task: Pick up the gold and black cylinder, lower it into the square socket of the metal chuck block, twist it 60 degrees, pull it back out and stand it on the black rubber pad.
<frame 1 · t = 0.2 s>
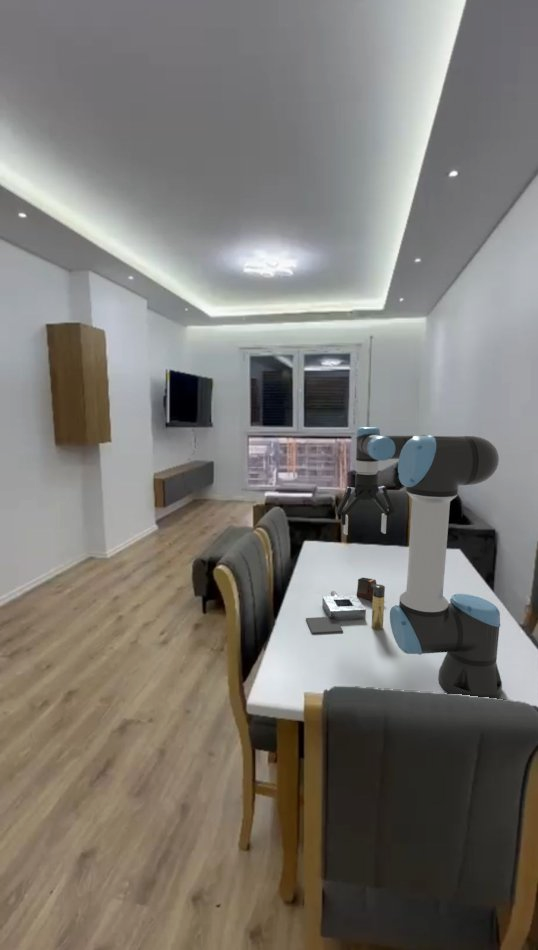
hand: (364, 533, 165), 27 cm above the table, fingers open, 13 cm apart
electronic device: (370, 599, 176), on the table
chuck block: (343, 612, 165), on the table
gold and black cylinder: (377, 627, 154), on the table
pad: (323, 625, 155), on the table
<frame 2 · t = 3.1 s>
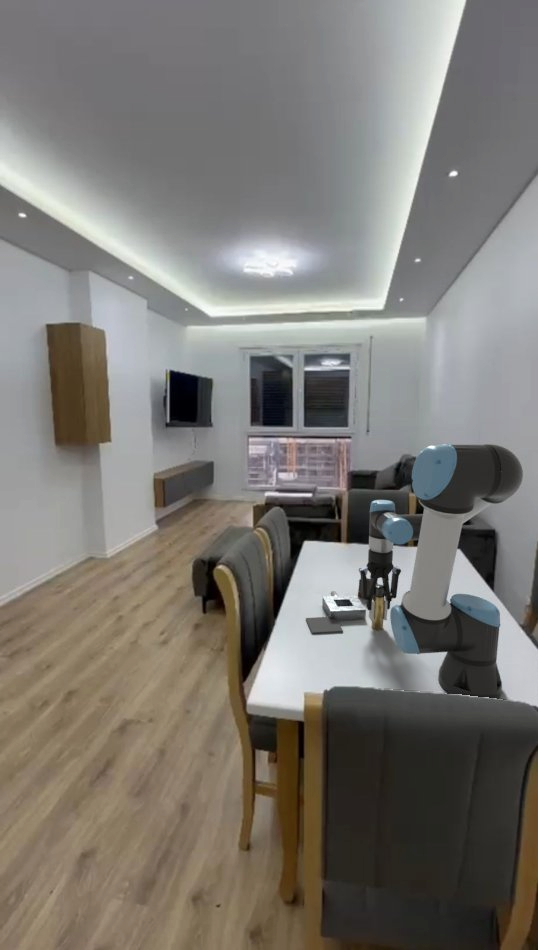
hand: (377, 618, 153), 3 cm above the table, fingers closed on gold and black cylinder, 4 cm apart
gold and black cylinder: (377, 627, 154), on the table, touching gripper
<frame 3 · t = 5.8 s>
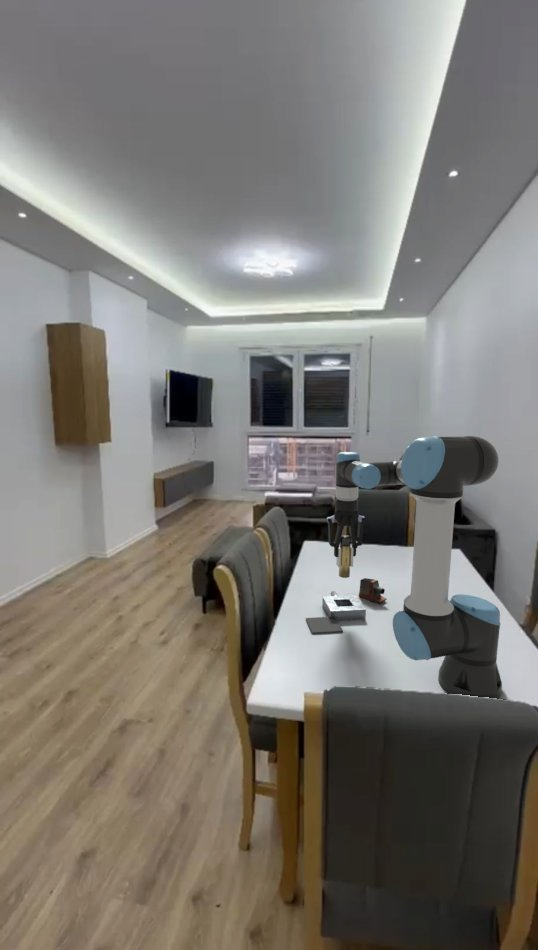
hand: (344, 565, 162), 17 cm above the table, fingers closed on gold and black cylinder, 4 cm apart
gold and black cylinder: (344, 575, 163), point 13 cm above the table, touching gripper
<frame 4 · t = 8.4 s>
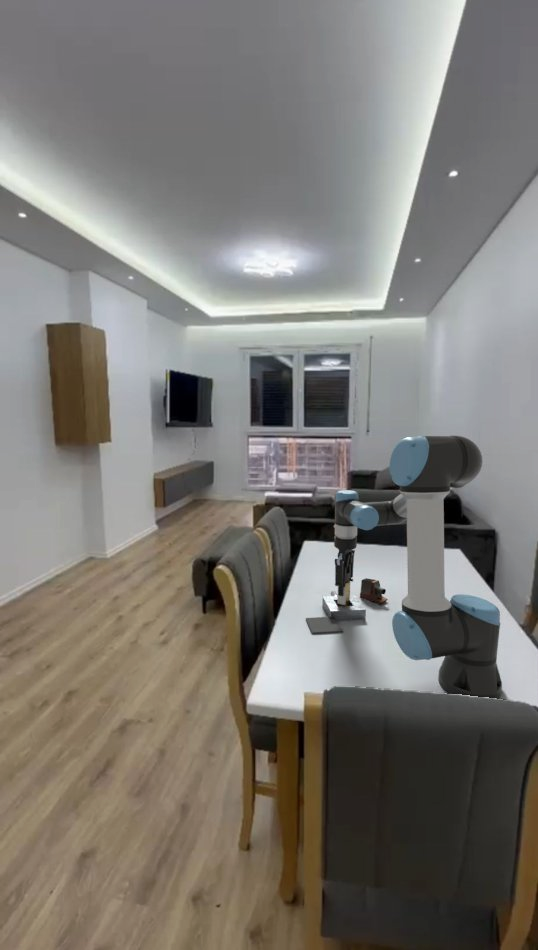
hand: (343, 601, 164), 4 cm above the table, fingers closed on gold and black cylinder, 4 cm apart
gold and black cylinder: (343, 611, 165), resting in chuck block, touching gripper
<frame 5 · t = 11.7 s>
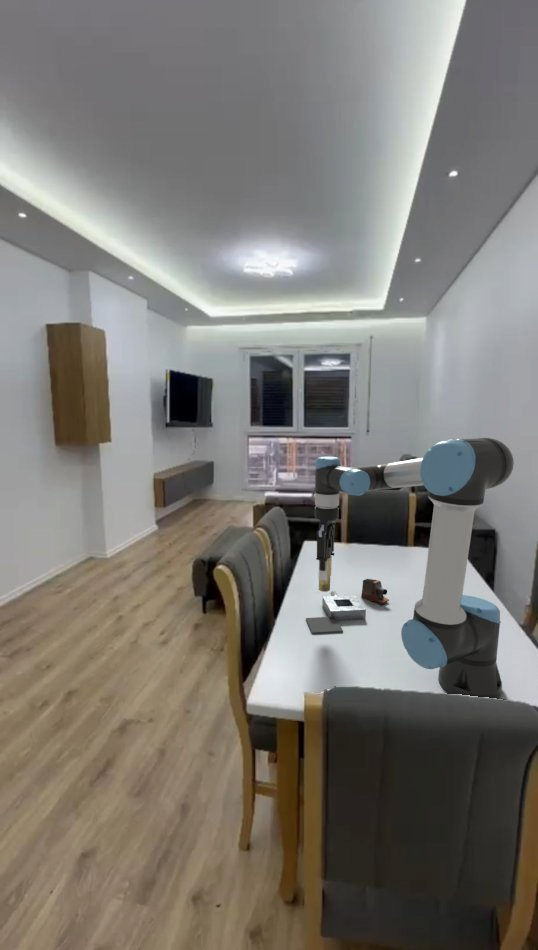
hand: (324, 577, 152), 17 cm above the table, fingers closed on gold and black cylinder, 4 cm apart
gold and black cylinder: (324, 589, 153), point 13 cm above the table, touching gripper
when the fingers open (5 cm above the table, at t = 13.9 s): gold and black cylinder stays where it is, resting on pad.
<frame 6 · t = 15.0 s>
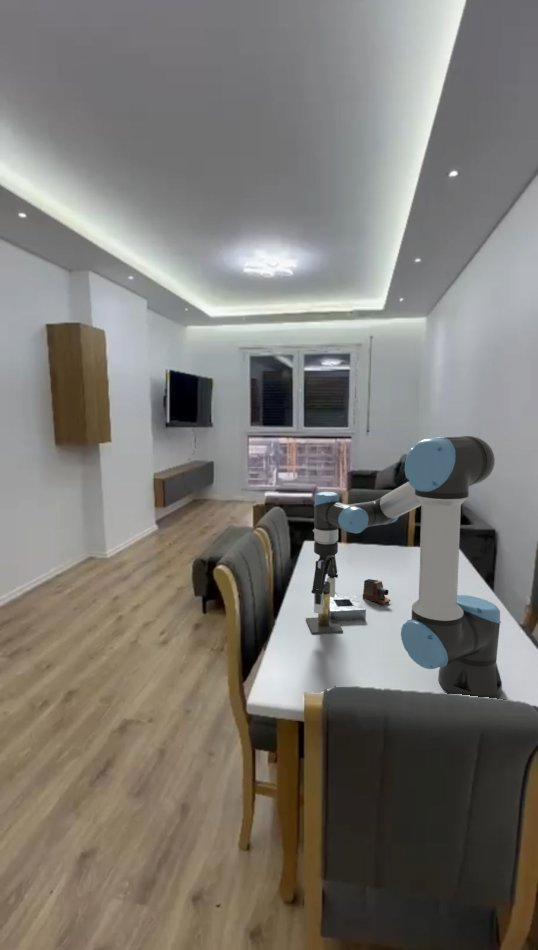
hand: (324, 604, 153), 7 cm above the table, fingers open, 13 cm apart
gold and black cylinder: (323, 624, 155), point 1 cm above the table, touching pad
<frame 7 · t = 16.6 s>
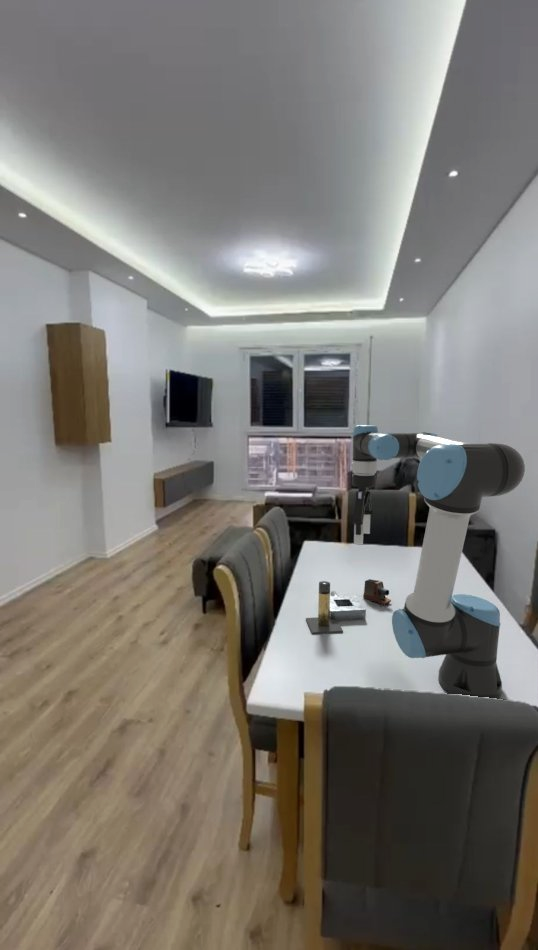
hand: (362, 538, 154), 28 cm above the table, fingers open, 13 cm apart
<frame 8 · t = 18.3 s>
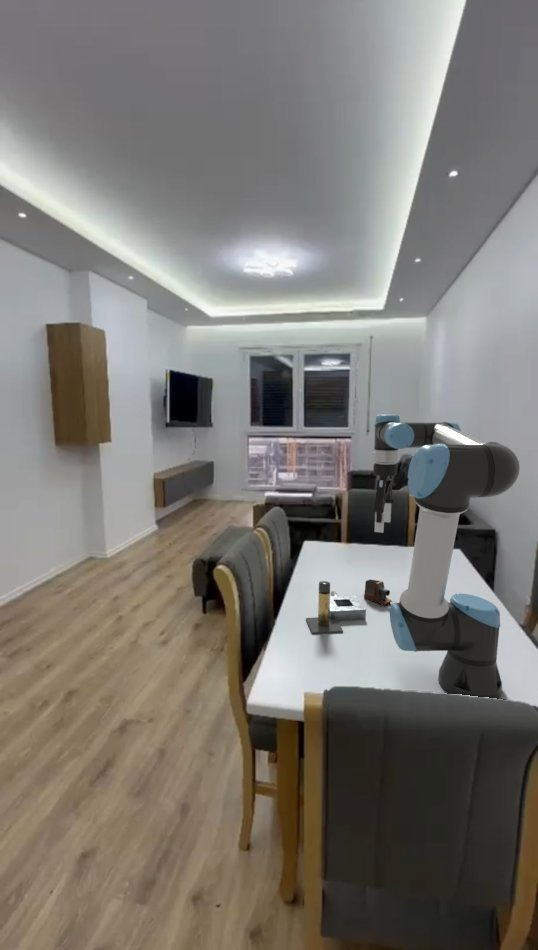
hand: (382, 526, 156), 32 cm above the table, fingers open, 13 cm apart
at the end: gold and black cylinder inside the target area on the pad (0.1 cm from its centre), point 0.6 cm above the pad's base; gold and black cylinder tilted 0°; the gripper is holding nothing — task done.
